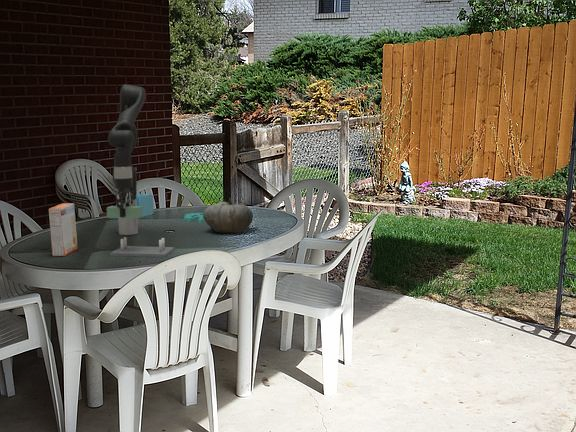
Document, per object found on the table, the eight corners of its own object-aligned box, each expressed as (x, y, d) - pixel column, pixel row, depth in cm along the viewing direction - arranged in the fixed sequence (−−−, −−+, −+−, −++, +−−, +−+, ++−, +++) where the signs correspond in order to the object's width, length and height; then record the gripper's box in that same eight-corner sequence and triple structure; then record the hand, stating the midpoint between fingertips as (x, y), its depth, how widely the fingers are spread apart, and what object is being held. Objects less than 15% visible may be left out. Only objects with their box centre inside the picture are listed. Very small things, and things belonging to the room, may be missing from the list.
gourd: (204, 232, 327) (207, 196, 327) (199, 231, 351) (201, 197, 351) (256, 234, 332) (258, 199, 332) (247, 233, 356) (249, 200, 357)
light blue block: (147, 214, 394) (146, 193, 392) (153, 214, 392) (153, 193, 390) (133, 217, 384) (132, 196, 382) (140, 217, 382) (139, 196, 380)
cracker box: (65, 249, 304) (62, 202, 300) (78, 249, 303) (75, 203, 300) (51, 256, 290) (47, 208, 287) (64, 256, 290) (61, 208, 286)
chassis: (122, 248, 304) (122, 234, 303) (174, 249, 301) (174, 236, 300) (110, 255, 291) (109, 241, 290) (164, 257, 288) (164, 242, 286)
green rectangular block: (112, 216, 299) (111, 205, 298) (142, 216, 296) (141, 206, 296) (107, 217, 294) (106, 207, 293) (137, 218, 292) (137, 207, 291)
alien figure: (227, 218, 380) (202, 215, 392) (227, 214, 379) (202, 211, 392) (200, 224, 365) (175, 220, 377) (200, 220, 364) (175, 216, 377)
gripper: (124, 178, 285) (127, 218, 287) (138, 175, 299) (139, 213, 301) (108, 178, 286) (110, 218, 289) (121, 175, 300) (123, 213, 303)
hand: (125, 215), depth 295 cm, fingers closed on green rectangular block, 5 cm apart
